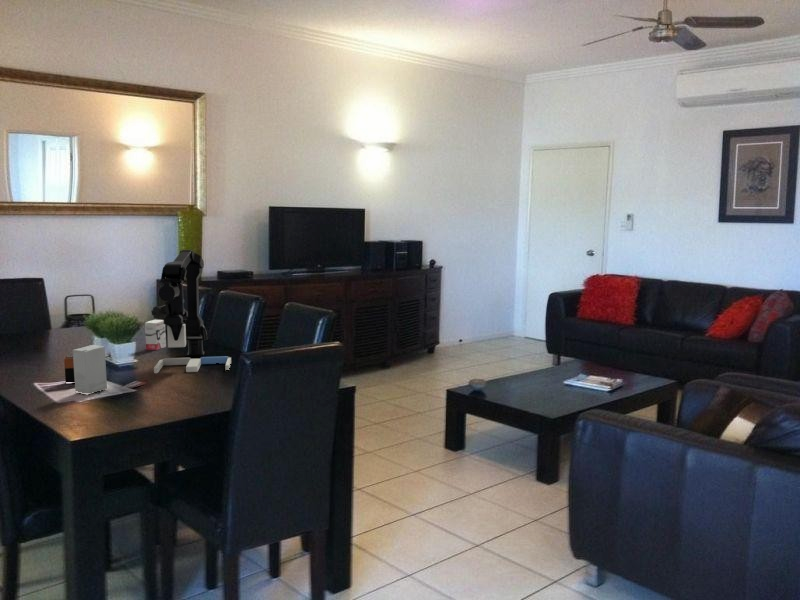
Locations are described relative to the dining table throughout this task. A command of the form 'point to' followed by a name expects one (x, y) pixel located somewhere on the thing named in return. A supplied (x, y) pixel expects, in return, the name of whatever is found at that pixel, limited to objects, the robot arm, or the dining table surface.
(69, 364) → the battery
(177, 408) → the dining table surface
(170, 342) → the plug block
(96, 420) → the dining table surface
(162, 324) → the ink box
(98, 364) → the skincare box
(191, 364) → the duct rack
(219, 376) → the dining table surface
